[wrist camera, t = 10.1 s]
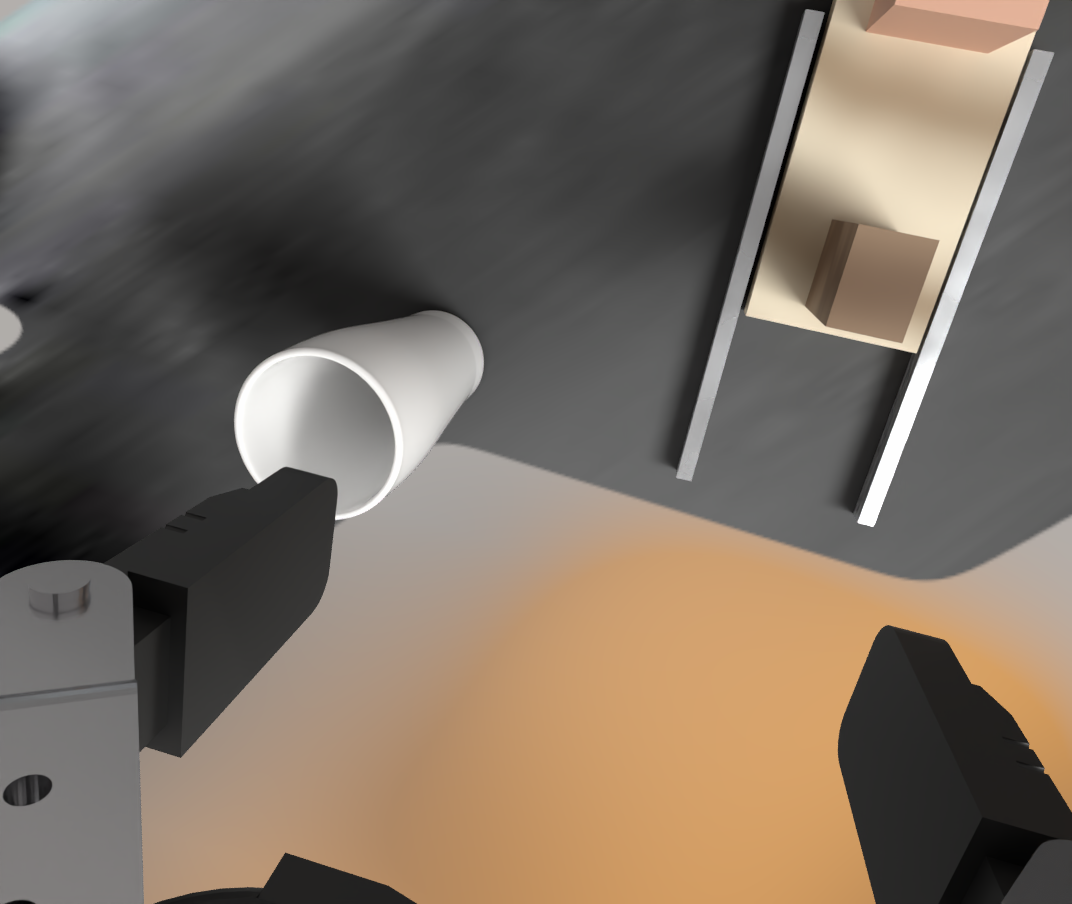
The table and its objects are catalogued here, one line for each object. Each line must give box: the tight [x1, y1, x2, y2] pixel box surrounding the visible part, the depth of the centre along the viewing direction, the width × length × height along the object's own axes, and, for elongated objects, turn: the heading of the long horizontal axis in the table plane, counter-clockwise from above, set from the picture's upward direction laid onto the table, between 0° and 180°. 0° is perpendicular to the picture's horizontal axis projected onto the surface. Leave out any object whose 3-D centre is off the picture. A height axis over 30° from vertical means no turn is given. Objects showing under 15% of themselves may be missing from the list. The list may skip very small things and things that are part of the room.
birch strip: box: [744, 0, 1036, 353], centre depth 31 cm, size 22×8×8 cm, turn 169°
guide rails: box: [676, 9, 1054, 527], centre depth 37 cm, size 22×10×1 cm, turn 169°
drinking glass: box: [234, 310, 484, 520], centre depth 35 cm, size 7×7×15 cm
